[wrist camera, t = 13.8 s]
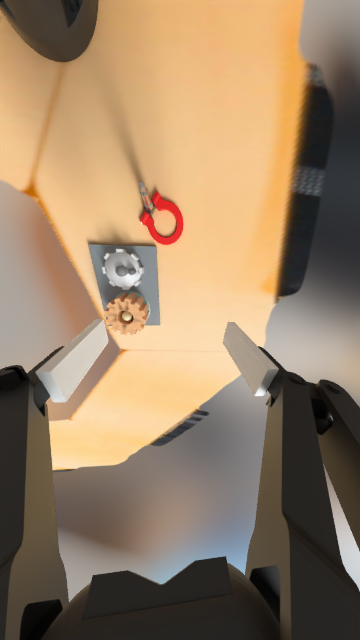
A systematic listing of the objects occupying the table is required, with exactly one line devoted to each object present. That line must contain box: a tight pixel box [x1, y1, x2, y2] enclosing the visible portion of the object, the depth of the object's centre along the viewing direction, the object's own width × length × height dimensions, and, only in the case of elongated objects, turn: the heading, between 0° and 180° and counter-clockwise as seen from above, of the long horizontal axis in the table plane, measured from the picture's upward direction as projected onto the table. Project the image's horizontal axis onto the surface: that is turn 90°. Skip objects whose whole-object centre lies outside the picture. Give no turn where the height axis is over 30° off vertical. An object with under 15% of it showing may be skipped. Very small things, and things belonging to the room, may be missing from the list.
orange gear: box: [104, 292, 149, 335], centre depth 36 cm, size 10×10×6 cm
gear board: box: [88, 244, 160, 326], centre depth 34 cm, size 22×16×7 cm
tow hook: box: [139, 181, 183, 245], centre depth 26 cm, size 8×13×9 cm
